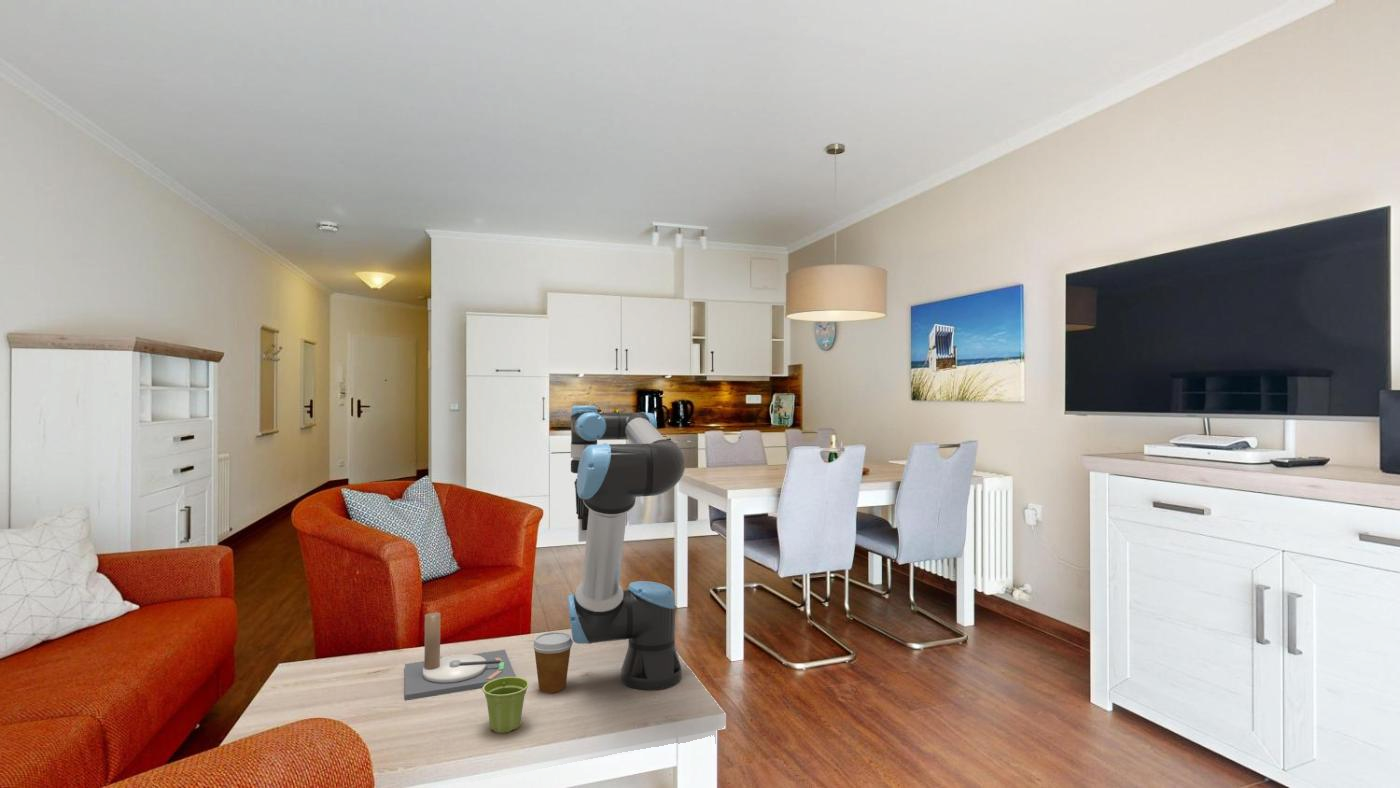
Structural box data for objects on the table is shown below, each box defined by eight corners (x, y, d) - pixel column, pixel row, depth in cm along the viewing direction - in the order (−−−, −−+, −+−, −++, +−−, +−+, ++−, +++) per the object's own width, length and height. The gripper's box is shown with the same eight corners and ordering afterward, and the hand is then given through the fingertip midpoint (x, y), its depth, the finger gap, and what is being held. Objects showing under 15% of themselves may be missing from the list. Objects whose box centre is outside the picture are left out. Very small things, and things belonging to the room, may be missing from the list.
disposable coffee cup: (577, 680, 162) (577, 632, 163) (565, 697, 153) (565, 645, 153) (539, 678, 163) (540, 630, 163) (526, 695, 154) (526, 644, 154)
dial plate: (516, 682, 161) (516, 675, 161) (405, 700, 151) (405, 693, 151) (504, 653, 180) (504, 648, 180) (405, 668, 169) (405, 662, 169)
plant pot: (488, 716, 143) (488, 676, 143) (531, 715, 144) (532, 675, 144) (477, 738, 134) (477, 695, 134) (523, 736, 135) (524, 694, 135)
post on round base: (502, 667, 167) (502, 611, 167) (453, 688, 154) (454, 628, 154) (459, 654, 175) (459, 601, 175) (409, 674, 162) (410, 616, 162)
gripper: (602, 460, 184) (602, 544, 184) (591, 456, 196) (590, 535, 196) (576, 461, 181) (576, 546, 181) (566, 457, 193) (565, 537, 192)
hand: (583, 540), depth 188 cm, fingers closed
